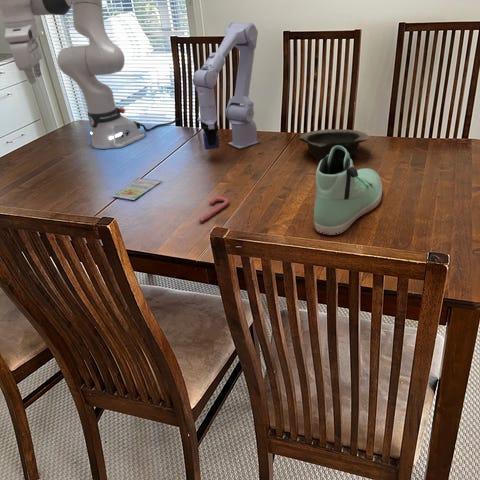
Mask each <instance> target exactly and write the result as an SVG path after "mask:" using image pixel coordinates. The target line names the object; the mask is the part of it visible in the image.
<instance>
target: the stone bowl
mask: <svg viewBox="0 0 480 480" xmlns="http://www.w3.org/2000/svg"><path fill="white" fill-rule="evenodd" d="M370 138H371V136H370V135H368V134H367V133H365V132H364V131H363V132H362V131H359V130H355V129H344V128H342V129H339V128H338V129H336V128H328V129H320V130H319V129H318V130H312V131H308V132H304V133H302V134H300V136H299V138H298V140H299V141H301V142H303V143H306V144H307V147H308V151H309V152H310V154H311V155H312V156H313V157H315V158H316V162H317V163H320V161H321V160H322V159H324V158H325V157H326V156H327V155H329V154H330V152H331V149H332V148H333V147H334V146H342V147H344V148H345V149H346V150H347V152H348V153H349V156H350V158H356V157H357V155H358V151H359V144H361V143H364V142H366V141H368V140H370Z"/></svg>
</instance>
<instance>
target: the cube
mask: <svg viewBox="0 0 480 480" xmlns="http://www.w3.org/2000/svg"><path fill="white" fill-rule="evenodd" d="M202 139H203V147H204V150H207V151H208V150H215V149H220V140H219V139H220V138H219V134H218V133H217V134H216V143H215V145H211V146H210V145H209V143H208V139H207V136H206V133H205V132H203V133H202Z"/></svg>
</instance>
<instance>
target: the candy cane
mask: <svg viewBox="0 0 480 480" xmlns="http://www.w3.org/2000/svg"><path fill="white" fill-rule="evenodd" d="M217 202H222V203H221V204H219V205H217V206H216V207H215V208H213V209H211V210H210V211H209V212H207V213H206V214H204V215H203V216H202V217H200V218H199V219H198V221H199V223H204V222H205V221H207V220H208V219H210V218H211V217H213V216H214V215H216V214H217V213H218V212H220V211H222V210H223V209H225V208H226V207H227V206H229V204H230V199H228V198H227V197H224V196H216V197H213V198H211V199H210V201H209V204H210V205H214V204H215V203H217Z"/></svg>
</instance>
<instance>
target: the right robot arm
mask: <svg viewBox="0 0 480 480" xmlns="http://www.w3.org/2000/svg"><path fill="white" fill-rule="evenodd" d="M224 33H225V36H224V37H223V40H222V41H221V43H220V45H219V46H218V49H216V52H211V53H210V54H209V55H208V58H207V59H206V60H205V62H204V63H203V65H202V66H201V68H200V69H197V70H196V71H195V72H194V74H193V77H192V80H191V81H192V85H194V87H195V91H196V93H197V97H198V106H199V115H200V116H199V117H198V118H197V122H198V123H199V122H200V124H201V126H202V130H203V131H204V132H203V133H206V136H207V139H208V143H209V145H210V146H211V145H215V143H216V134H218V131H219V128H220V127H219V125H216V123H217V121H218V116H217V115H218V114H217V107H216V105H217V104H216V96H215V86H216V85H217V82H218V77H219V73H220V72H221V71H222V69H223V68H224V65H225V64H226V60H225V58H227V56H228V55H229V53H230V52H231V51H232V50H233V48H236V49H237V50H238V52H239V57H238V65H237V73H236V79H235V80H236V82H235V89H234V96H232V97H231V98H229V99H228V103H227V106H226V109H225V117H226V119H227V120H228V121H229V123H230V124H231V125H230V127H231V138H232V139H231V140H232V141H230V142H228V145H230V146H232V147H234V148H237V149H239V150H240V149H243V148H247V147H250V146H253V145H257V144H258V143H259V140H258V130H257V124H256V121H255V120H254V116H255V111H254V106H255V105H254V104H255V103H254V102H253V101H252V100H251V99H250V98H249V95H250V89H251V80H252V75H253V74H252V73H253V65H254V58H255V52H256V49H257V42H258V33H259V31H258V29H257V27H256V25H255V24H254V23H253V22H249V23H248V22H247V23H246V22H245V23H244V22H229V24H228V25H227V27H226V28H225V32H224Z"/></svg>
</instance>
